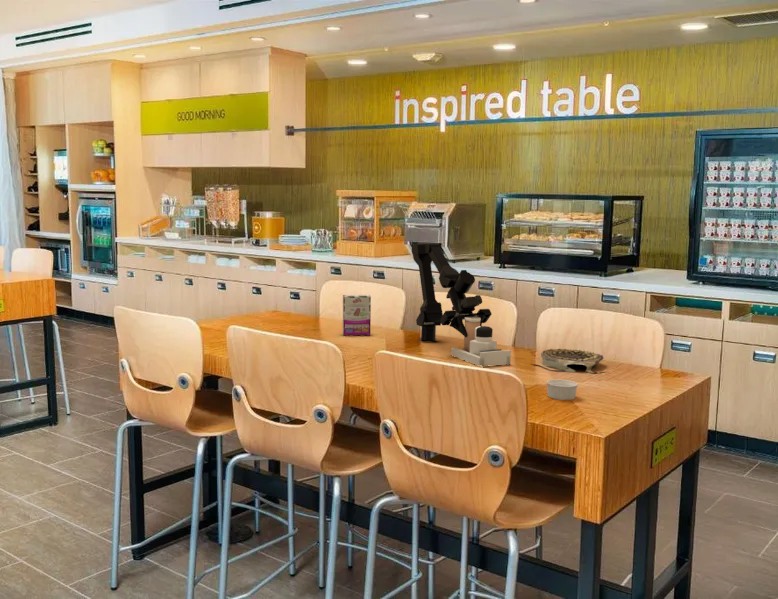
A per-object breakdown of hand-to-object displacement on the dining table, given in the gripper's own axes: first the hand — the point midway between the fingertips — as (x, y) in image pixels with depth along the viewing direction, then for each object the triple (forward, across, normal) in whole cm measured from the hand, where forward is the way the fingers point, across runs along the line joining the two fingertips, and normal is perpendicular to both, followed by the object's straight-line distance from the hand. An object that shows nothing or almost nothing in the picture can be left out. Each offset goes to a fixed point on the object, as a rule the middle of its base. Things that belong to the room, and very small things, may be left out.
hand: (473, 336), depth 281 cm
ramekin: (+46, -4, -35) cm, 58 cm away
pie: (+22, +27, -10) cm, 36 cm away
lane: (+9, 0, +2) cm, 9 cm away
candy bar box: (-33, -22, +45) cm, 60 cm away
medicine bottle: (+10, 0, +1) cm, 10 cm away
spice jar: (+4, 0, +6) cm, 7 cm away
